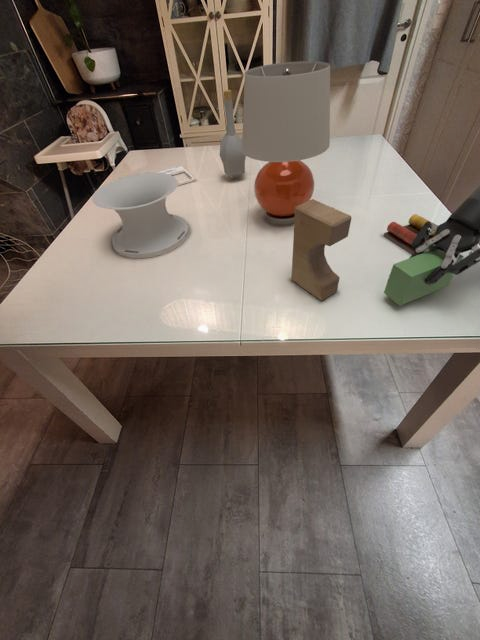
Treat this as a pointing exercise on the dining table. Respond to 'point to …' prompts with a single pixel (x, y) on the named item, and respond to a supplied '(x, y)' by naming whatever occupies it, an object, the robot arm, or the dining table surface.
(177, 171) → the photo frame
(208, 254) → the dining table surface
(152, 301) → the dining table surface
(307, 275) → the decorative block
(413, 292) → the bar
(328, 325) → the dining table surface
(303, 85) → the lamp
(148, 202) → the vase
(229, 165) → the bottle
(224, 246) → the dining table surface
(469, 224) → the robot arm
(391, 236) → the rod rack
